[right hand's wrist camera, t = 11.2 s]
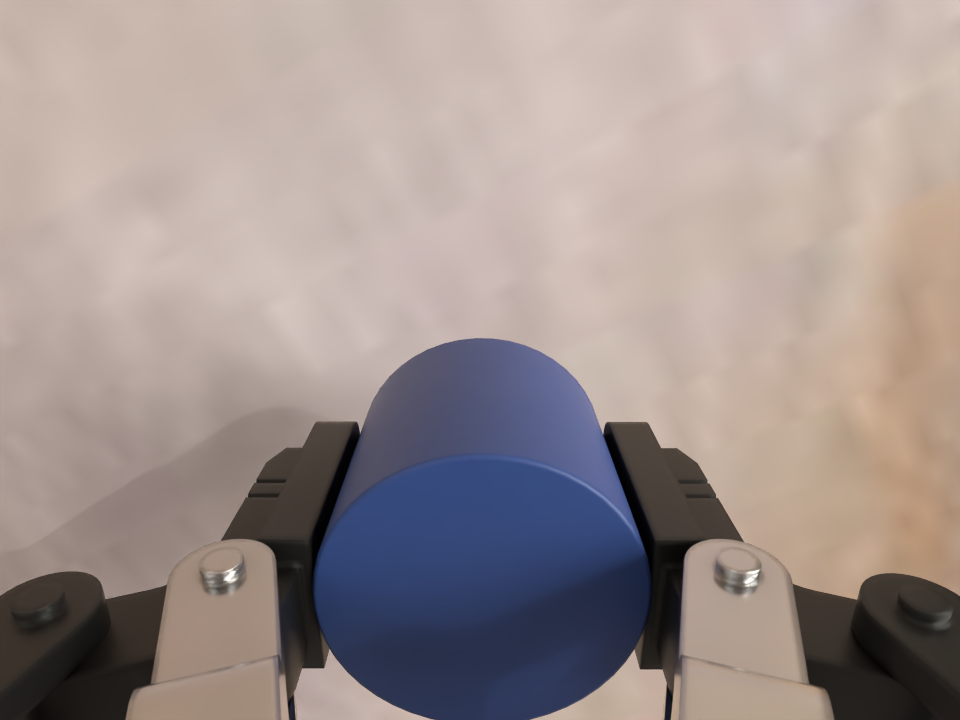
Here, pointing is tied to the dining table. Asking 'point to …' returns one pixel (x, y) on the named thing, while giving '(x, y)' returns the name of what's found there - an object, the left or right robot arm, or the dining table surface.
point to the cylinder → (481, 541)
